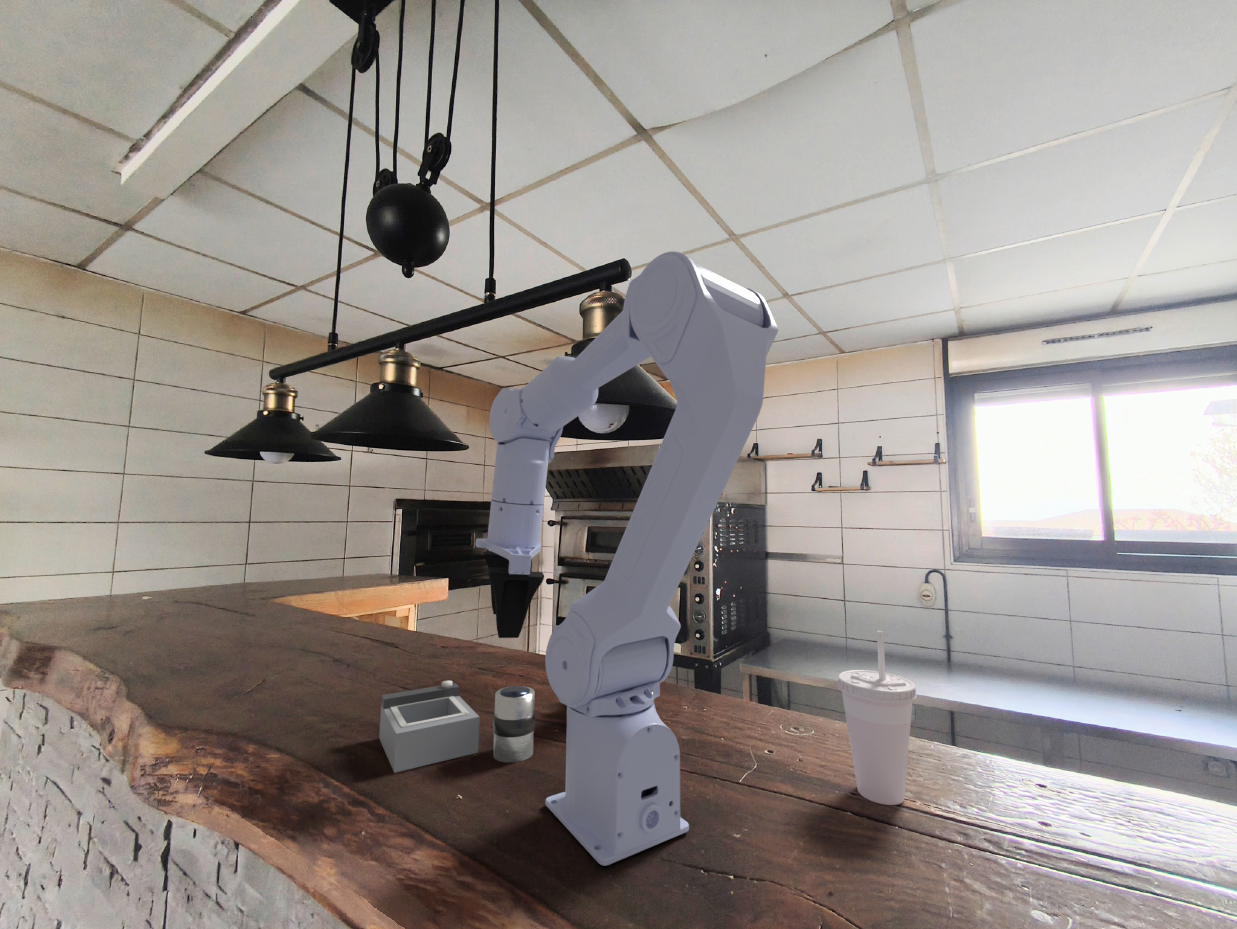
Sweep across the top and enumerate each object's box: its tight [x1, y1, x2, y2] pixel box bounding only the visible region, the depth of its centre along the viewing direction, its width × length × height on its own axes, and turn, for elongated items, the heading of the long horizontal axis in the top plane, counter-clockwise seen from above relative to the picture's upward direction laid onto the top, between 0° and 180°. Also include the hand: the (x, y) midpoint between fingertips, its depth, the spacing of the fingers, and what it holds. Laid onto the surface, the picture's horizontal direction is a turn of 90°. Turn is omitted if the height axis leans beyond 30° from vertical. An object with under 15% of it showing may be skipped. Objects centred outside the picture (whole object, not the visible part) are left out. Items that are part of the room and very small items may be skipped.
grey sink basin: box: [378, 680, 480, 774], centre depth 54 cm, size 9×8×5 cm
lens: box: [492, 685, 536, 764], centre depth 53 cm, size 4×4×6 cm
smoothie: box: [837, 630, 918, 806], centre depth 46 cm, size 6×6×14 cm
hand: (505, 624), depth 56 cm, fingers open, 7 cm apart
